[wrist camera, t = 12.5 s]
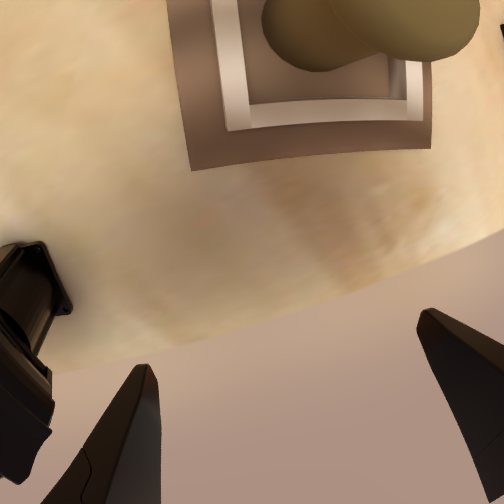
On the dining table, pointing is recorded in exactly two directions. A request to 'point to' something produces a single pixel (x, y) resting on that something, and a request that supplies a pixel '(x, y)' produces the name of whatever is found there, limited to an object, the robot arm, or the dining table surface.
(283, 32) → the cork
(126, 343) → the dining table surface
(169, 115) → the dining table surface
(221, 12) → the socket board
